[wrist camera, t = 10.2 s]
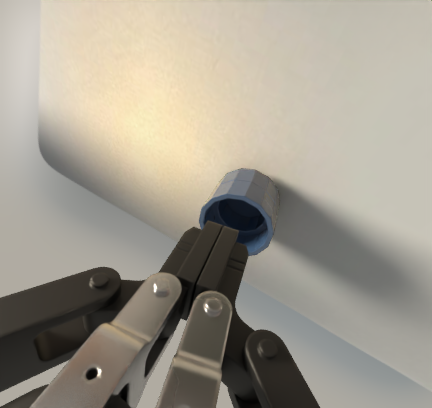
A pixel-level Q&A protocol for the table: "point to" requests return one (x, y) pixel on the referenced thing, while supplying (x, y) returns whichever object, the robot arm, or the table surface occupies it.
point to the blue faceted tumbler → (244, 207)
